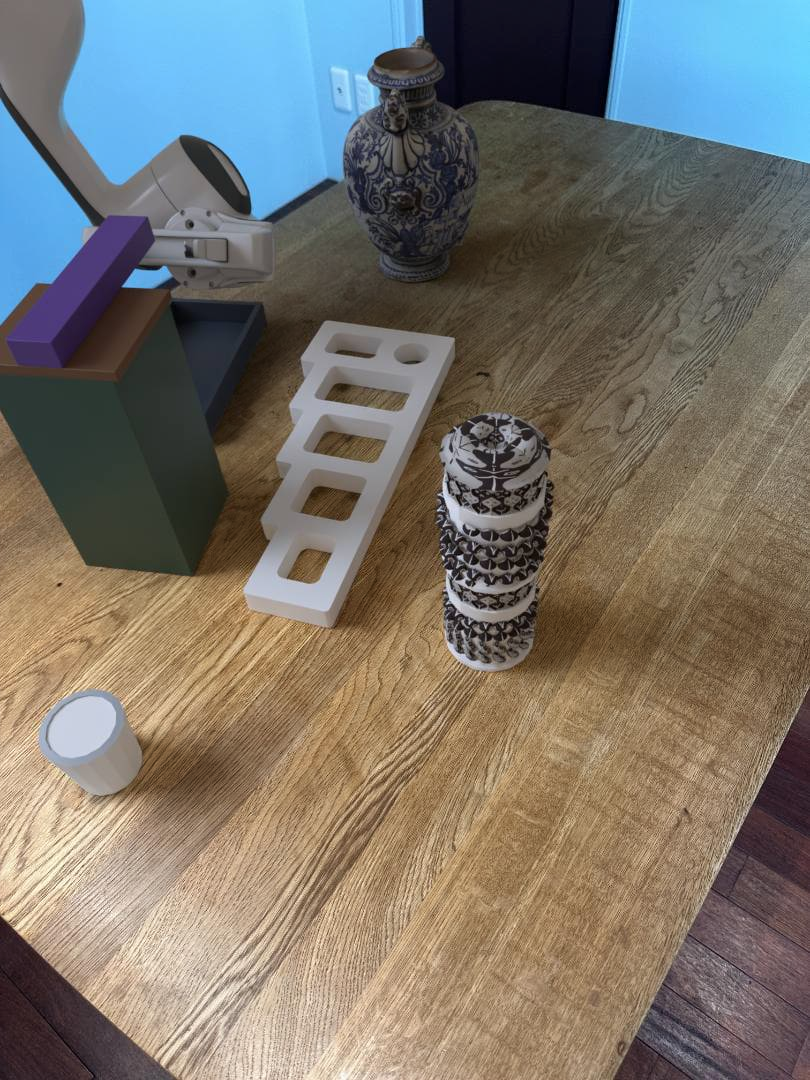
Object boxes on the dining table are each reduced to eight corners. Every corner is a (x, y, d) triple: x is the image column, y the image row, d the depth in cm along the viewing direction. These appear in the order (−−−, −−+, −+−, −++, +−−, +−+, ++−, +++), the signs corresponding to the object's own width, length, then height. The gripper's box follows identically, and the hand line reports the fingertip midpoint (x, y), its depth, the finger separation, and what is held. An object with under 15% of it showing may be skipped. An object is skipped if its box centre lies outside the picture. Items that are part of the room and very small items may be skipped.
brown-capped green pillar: (81, 564, 86) (-33, 362, 66) (126, 484, 93) (36, 282, 74) (197, 577, 84) (115, 372, 64) (233, 494, 91) (169, 288, 72)
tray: (101, 439, 99) (91, 416, 96) (175, 319, 115) (169, 297, 113) (206, 447, 97) (199, 425, 94) (267, 324, 113) (262, 302, 111)
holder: (331, 628, 78) (328, 612, 76) (167, 590, 83) (160, 573, 81) (455, 355, 106) (455, 337, 104) (327, 337, 110) (325, 320, 108)
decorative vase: (468, 307, 113) (469, 92, 92) (339, 300, 116) (311, 90, 95) (485, 230, 127) (489, 27, 106) (370, 226, 130) (351, 28, 109)
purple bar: (17, 365, 65) (4, 339, 64) (117, 239, 78) (108, 214, 76) (63, 368, 65) (51, 342, 63) (155, 241, 78) (148, 216, 76)
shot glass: (140, 801, 68) (113, 764, 63) (60, 804, 68) (26, 767, 63) (156, 727, 72) (132, 686, 67) (81, 730, 73) (51, 689, 67)
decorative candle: (558, 632, 77) (588, 431, 58) (493, 694, 73) (502, 499, 54) (486, 580, 81) (492, 378, 62) (421, 635, 77) (406, 438, 58)
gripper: (117, 216, 93) (46, 208, 81) (287, 223, 90) (242, 216, 77) (121, 274, 96) (52, 275, 83) (287, 282, 92) (243, 285, 79)
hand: (145, 246), depth 80 cm, fingers open, 8 cm apart
